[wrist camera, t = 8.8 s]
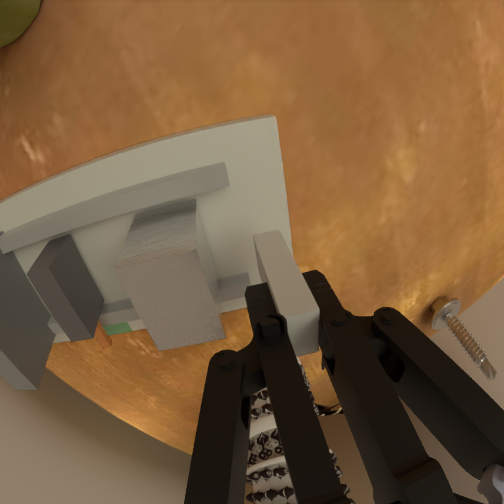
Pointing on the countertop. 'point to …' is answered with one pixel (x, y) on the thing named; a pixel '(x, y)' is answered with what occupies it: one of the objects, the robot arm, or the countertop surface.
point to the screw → (459, 332)
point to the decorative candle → (272, 454)
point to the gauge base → (121, 217)
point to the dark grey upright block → (69, 290)
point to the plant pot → (16, 18)
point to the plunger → (172, 276)
